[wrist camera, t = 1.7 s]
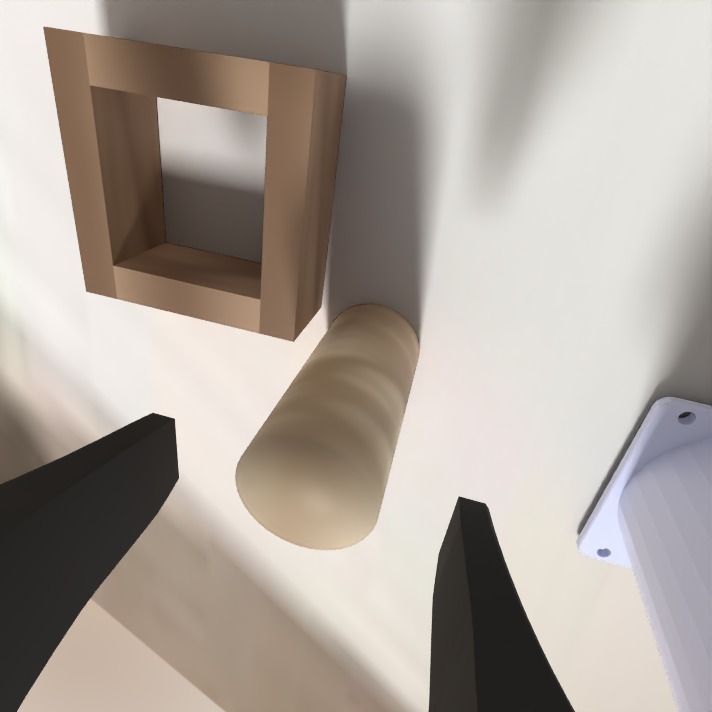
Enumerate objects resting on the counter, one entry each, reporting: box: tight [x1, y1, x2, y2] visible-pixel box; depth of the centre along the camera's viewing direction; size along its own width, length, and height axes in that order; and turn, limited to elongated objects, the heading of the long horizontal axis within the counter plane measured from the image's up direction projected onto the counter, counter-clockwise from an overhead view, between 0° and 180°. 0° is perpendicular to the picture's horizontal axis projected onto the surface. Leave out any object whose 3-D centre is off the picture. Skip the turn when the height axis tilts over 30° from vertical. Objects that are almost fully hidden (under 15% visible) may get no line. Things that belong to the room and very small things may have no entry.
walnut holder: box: [43, 27, 346, 342], centre depth 15 cm, size 8×8×3 cm
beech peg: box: [235, 304, 419, 550], centre depth 15 cm, size 4×4×8 cm
